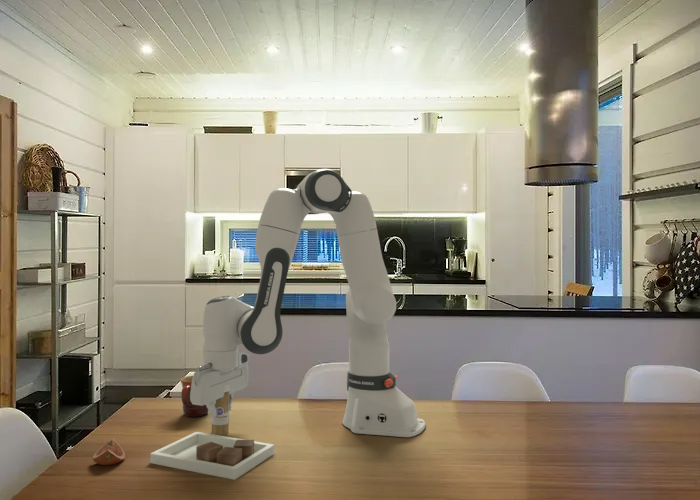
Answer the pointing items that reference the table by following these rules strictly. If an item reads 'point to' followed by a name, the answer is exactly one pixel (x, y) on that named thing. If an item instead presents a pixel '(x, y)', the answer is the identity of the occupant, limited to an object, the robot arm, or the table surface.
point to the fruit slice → (109, 453)
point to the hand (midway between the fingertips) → (220, 413)
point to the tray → (185, 459)
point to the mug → (188, 407)
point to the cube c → (245, 447)
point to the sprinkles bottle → (222, 414)
